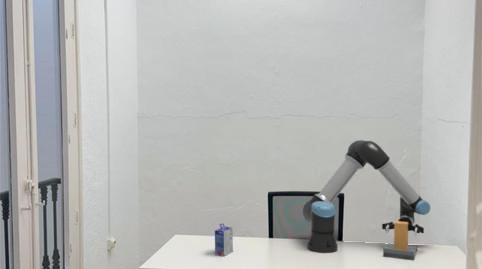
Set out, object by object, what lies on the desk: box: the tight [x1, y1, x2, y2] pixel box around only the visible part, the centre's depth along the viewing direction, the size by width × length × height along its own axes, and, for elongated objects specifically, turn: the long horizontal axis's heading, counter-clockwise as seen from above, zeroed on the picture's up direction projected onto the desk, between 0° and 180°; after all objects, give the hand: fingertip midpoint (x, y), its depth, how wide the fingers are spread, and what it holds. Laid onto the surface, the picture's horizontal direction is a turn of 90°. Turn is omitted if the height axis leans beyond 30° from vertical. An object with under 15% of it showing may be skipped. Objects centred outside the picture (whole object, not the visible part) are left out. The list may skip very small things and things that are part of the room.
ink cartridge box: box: [214, 222, 234, 257], centre depth 225 cm, size 10×6×14 cm, turn 155°
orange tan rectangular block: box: [393, 220, 409, 250], centre depth 231 cm, size 6×6×13 cm
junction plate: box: [382, 243, 418, 261], centre depth 230 cm, size 14×20×7 cm
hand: (400, 231), depth 229 cm, fingers open, 13 cm apart
